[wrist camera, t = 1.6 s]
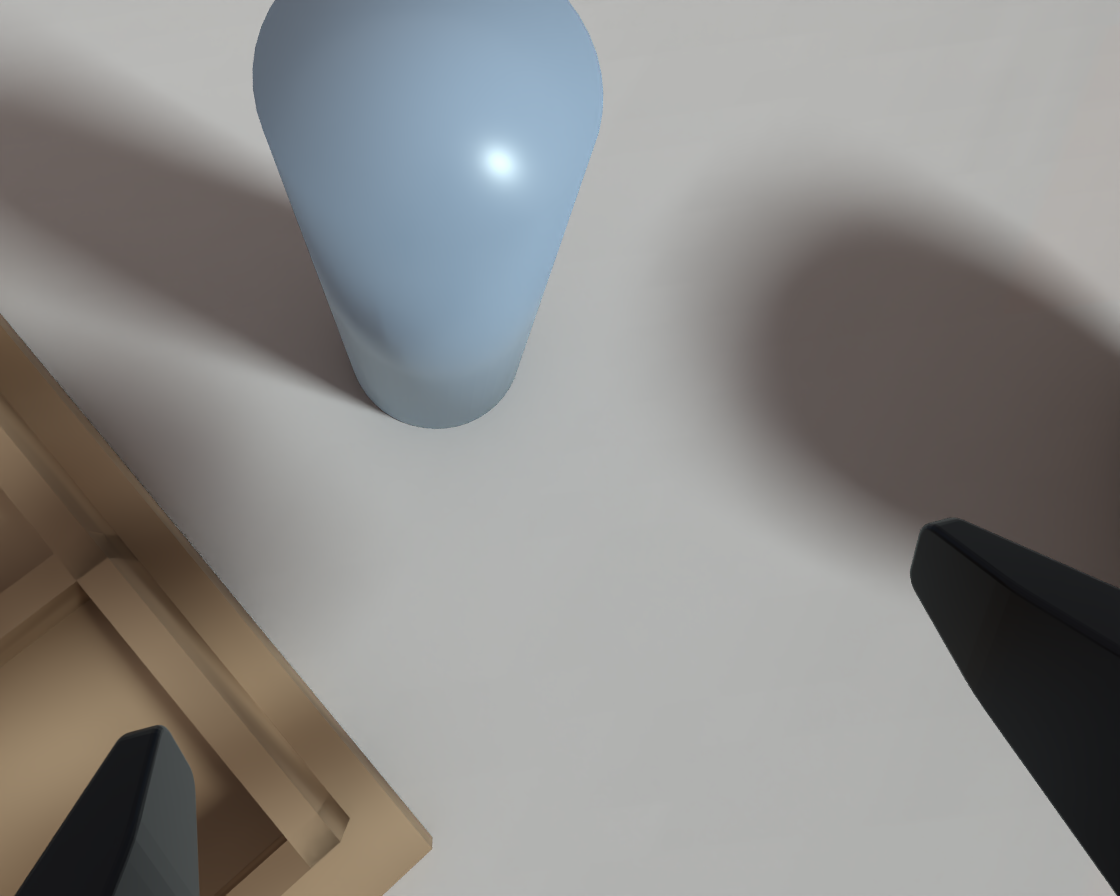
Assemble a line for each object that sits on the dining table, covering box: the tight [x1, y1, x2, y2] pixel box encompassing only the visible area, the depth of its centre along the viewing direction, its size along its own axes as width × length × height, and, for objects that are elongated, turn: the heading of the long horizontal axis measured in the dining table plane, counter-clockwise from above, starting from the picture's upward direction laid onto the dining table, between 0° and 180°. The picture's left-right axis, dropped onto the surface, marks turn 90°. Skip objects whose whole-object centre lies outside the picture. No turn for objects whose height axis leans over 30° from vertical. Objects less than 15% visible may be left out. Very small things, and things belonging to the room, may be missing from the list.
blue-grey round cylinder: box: [253, 0, 603, 429], centre depth 18 cm, size 5×5×12 cm
